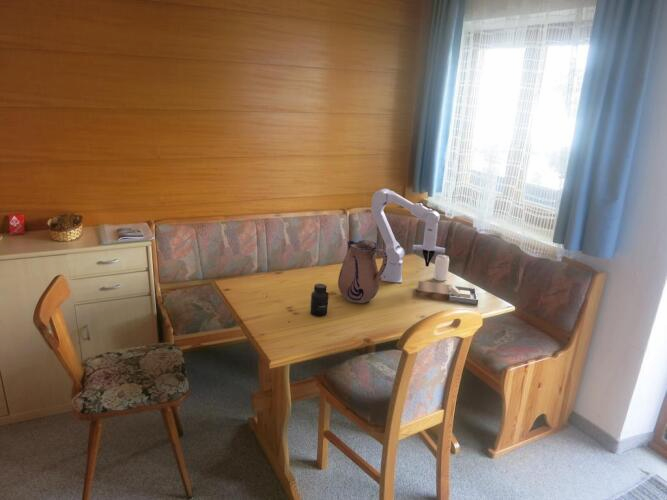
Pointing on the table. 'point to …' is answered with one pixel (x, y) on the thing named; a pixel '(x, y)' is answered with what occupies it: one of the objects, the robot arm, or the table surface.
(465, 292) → the tile
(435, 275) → the can
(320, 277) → the table surface
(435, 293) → the brown board
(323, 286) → the supplement bottle
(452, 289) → the tile
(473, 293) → the tray
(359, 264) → the ceramic pitcher
